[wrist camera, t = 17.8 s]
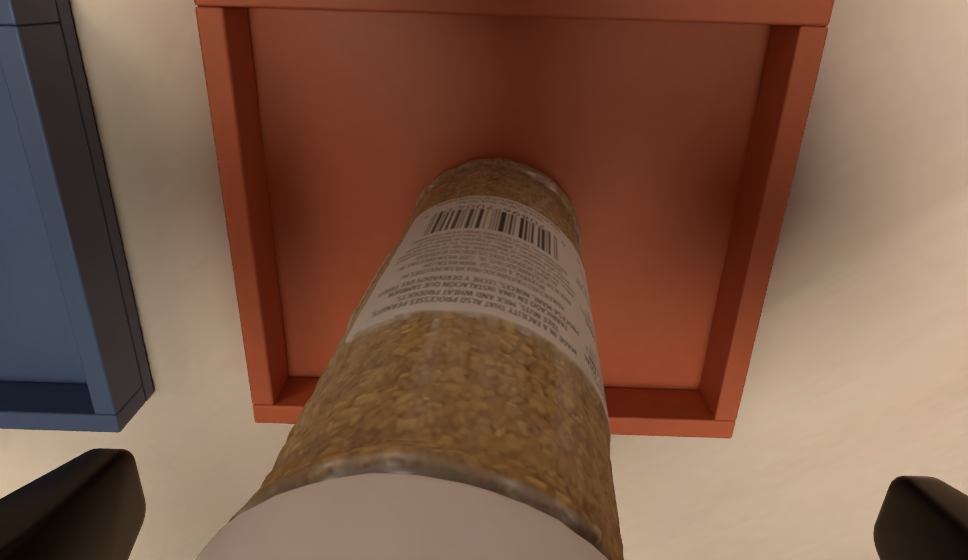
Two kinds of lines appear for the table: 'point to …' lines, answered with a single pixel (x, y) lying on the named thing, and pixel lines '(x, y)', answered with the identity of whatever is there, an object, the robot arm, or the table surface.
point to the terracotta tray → (523, 139)
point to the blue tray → (59, 241)
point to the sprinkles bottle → (453, 398)
